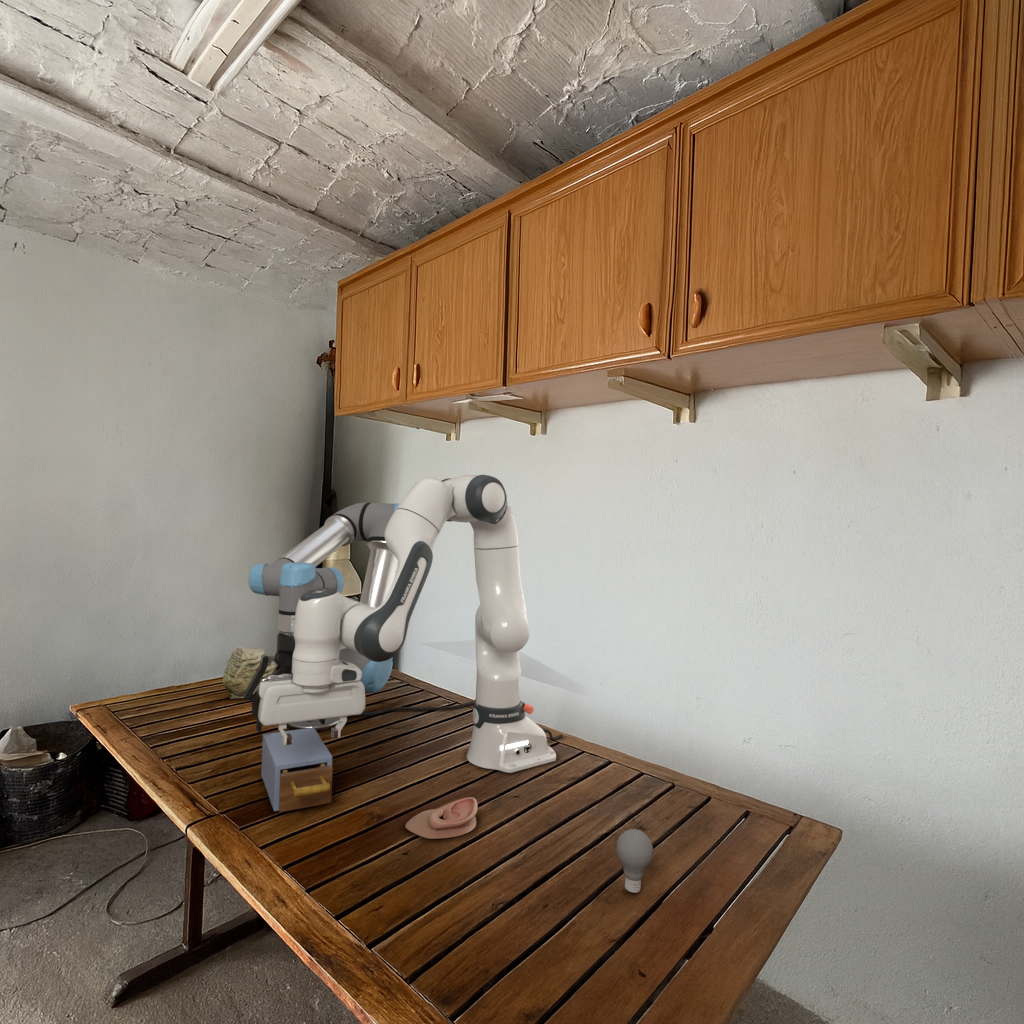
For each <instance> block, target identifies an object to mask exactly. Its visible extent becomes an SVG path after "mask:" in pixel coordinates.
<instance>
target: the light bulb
mask: <svg viewBox="0 0 1024 1024" xmlns="http://www.w3.org/2000/svg"><path fill="white" fill-rule="evenodd" d="M615 849H616V854H617V857H618V859H619V861H620V863H621V865H622V867H623V873H624V874H623V875H624V876H625V878H624V888H625V890H627V891H628V892H630V893H634V894H635V893H639V892H640V891H641V889H642V887H641V886H642V879H643V877H644V875H645V871H646V868H647V867H648V866H649V864H650V863H651V861H652V859H653V855H654V847H653V843H652V841H651V838H649V836H648V835H647V834H646V833H645V832H643V831H642V830H641V829H636V828H629V829H627V830H625V831H623V832H622V833H621V834H620V835H619V837H618V839H617V841H616V847H615Z"/></svg>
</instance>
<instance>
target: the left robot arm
mask: <svg viewBox="0 0 1024 1024" xmlns="http://www.w3.org/2000/svg"><path fill="white" fill-rule="evenodd" d="M399 504H400V503H398V502H395V503H388V502H387V503H385V502H383V503H382V502H367V501H365V502H359V503H358V502H357V503H354V504H352V505H349V506H347V507H344V508H342V509H340V510H338V511H336V512H335V513H333V514H332V515H330V516H329V517H327V519H326V520H325V521H324V524H323V526H321V527H320V528H319V529H317V530H316V531H314V532H313V533H312V534H309V536H307V538H305V539H303V540H302V541H301V542H299V543H298V544H297V545H296V546H294V547H292V548H291V549H289V551H287V552H286V553H285V554H283V555H281V556H280V557H279V558H277V559H276V560H275V561H273V562H272V563H270V564H269V563H266V562H265V563H257V564H255V565H254V566H253V567H252V568H251V570H250V571H249V574H248V578H247V579H248V580H247V581H248V586H249V590H251V591H252V592H253V593H254V594H257V595H263V596H266V597H269V596H270V597H279V600H278V618H277V631H278V633H277V636H276V637H277V638H276V652H275V654H274V655H268V654H267V653H266V654H267V655H268V656H267V655H266V654H263V655H262V656H261V661H260V665H259V667H258V669H257V670H256V672H255V674H254V676H253V678H252V679H251V681H250V683H249V685H248V687H247V688H246V690H245V692H244V694H243V695H244V698H243V699H245V700H246V701H251V714H252V717H256V720H255V721H256V722H255V725H256V726H255V729H256V732H257V733H262V729H263V728H262V726H263V724H262V723H261V722H260V721H259V719H258V710H259V704H260V699H261V698H260V697H259V694H258V691H259V688H258V689H257V691H256V692H255V693H254V691H255V689H256V687H257V685H258V684H259V682H260V680H261V678H262V676H263V674H264V673H265V671H266V669H267V666H269V665H271V663H272V662H273V661H274V663H275V665H276V668H275V669H274V671H273V672H272V674H271V675H281V674H289V673H292V657H293V652H294V649H295V639H294V622H295V613H296V608H297V604H298V601H299V599H300V597H301V596H302V595H303V594H304V593H306V592H308V591H310V590H314V589H319V588H321V589H322V588H332V589H336V590H337V591H338V592H339V593H340V594H342V591H343V590H344V588H345V577H344V575H343V573H342V572H341V570H339V569H338V568H335V567H327V566H324V567H317V566H319V565H320V564H321V563H323V562H324V561H325V560H326V559H327V558H329V557H330V556H331V555H332V554H334V553H335V552H336V551H337V550H338V549H340V548H341V547H346V546H348V545H350V544H351V543H353V542H366V546H367V547H368V549H369V550H370V553H369V558H368V563H367V567H366V572H365V577H364V581H363V585H362V590H361V595H360V598H359V603H363V604H366V605H369V606H372V607H376V608H377V607H379V606H380V605H381V604H383V602H384V601H385V599H386V597H387V594H388V592H389V590H390V588H391V585H392V583H393V581H394V579H395V576H396V574H397V572H398V567H399V563H398V560H397V558H396V557H395V556H394V555H393V554H392V553H391V552H390V550H389V549H388V547H387V544H386V541H385V536H384V533H385V530H386V527H387V524H388V522H389V520H390V518H391V516H392V515H393V513H394V512H395V510H396V508H397V507H398V505H399ZM393 659H394V656H393V657H392V658H391V659H389V660H386V661H383V662H375V661H372V660H370V659H368V658H366V657H364V656H363V655H361V654H359V653H357V652H354V651H351V650H349V649H347V648H346V649H341V650H340V652H339V660H342V661H346V662H350V663H353V664H354V665H356V666H357V667H358V668H359V669H360V670H361V671H362V678H361V680H360V681H361V682H362V683H363V685H364V688H365V694H366V693H367V694H368V693H369V694H374V693H375V694H376V693H378V692H380V691H381V690H382V689H383V688H384V687H385V685H386V684H387V683H388V681H389V679H390V676H391V674H392V670H393V666H394V661H393ZM265 681H267V680H265ZM253 693H254V694H253ZM473 701H474V700H472V701H468V702H464V703H460V704H455V705H448V706H447V705H446V706H423V707H421V706H420V707H417V706H397V707H396V706H394V707H388V708H383V709H381V710H380V709H379V710H376V711H371V712H370V711H369V712H364V711H363V712H362V714H359V715H358V716H362V717H370V716H377V715H381V714H384V713H389V712H394V711H416V712H417V711H420V712H421V711H445V710H446V711H447V710H455V709H459V708H464V707H467V706H473V705H474V702H473ZM338 721H339V719H338V718H337V717H334V718H326V719H318V720H310V721H302V722H294V723H287V727H286V728H287V729H289V730H298V729H306V728H313V727H314V728H315V730H316V732H317V733H318V732H325V731H329V730H331V728H334V727H336V725H337V723H338Z"/></svg>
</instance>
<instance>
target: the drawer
mask: <svg viewBox="0 0 1024 1024" xmlns="http://www.w3.org/2000/svg"><path fill="white" fill-rule="evenodd" d="M333 769H334V767H333V765H332V766H325V764H324V763H319V764H313V765H307V766H301V767H294V768H288V769H282V770H280V788H279V811H278V812H279V813H285V812H290V811H295V810H299V809H305V808H311V807H316V806H320V805H326V804H331V803H332V796H333V793H332V792H333V772H334V771H333Z"/></svg>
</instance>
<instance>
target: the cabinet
mask: <svg viewBox="0 0 1024 1024" xmlns="http://www.w3.org/2000/svg"><path fill="white" fill-rule="evenodd" d="M284 731H285V733H286V734H288V733H290V734H291V736H292V740H291V742H292V744H291V745H286V746H283V744H282V734H281V732H280V731H275V732H269V733H263V734H262V745H261V771H260V773H261V778H262V781H263V783H264V787H265V789H266V792H267V796H268V798H269V801H270V805H271V807H272V810H273V812H279V788H280V770H282V769H288V768H294V767H301V766H307V765H313V764H319V763H324V764H325V766H332V767H333V755H332V754H331V752H330V751H329V749H328V747H327V746H326V744H325V742H324V740H323V739H322V738H321V736H320V735H319V733H318V732H316V730H315V728H314V727H313V728H306V729H298V730H292V729H290V730H284Z"/></svg>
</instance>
